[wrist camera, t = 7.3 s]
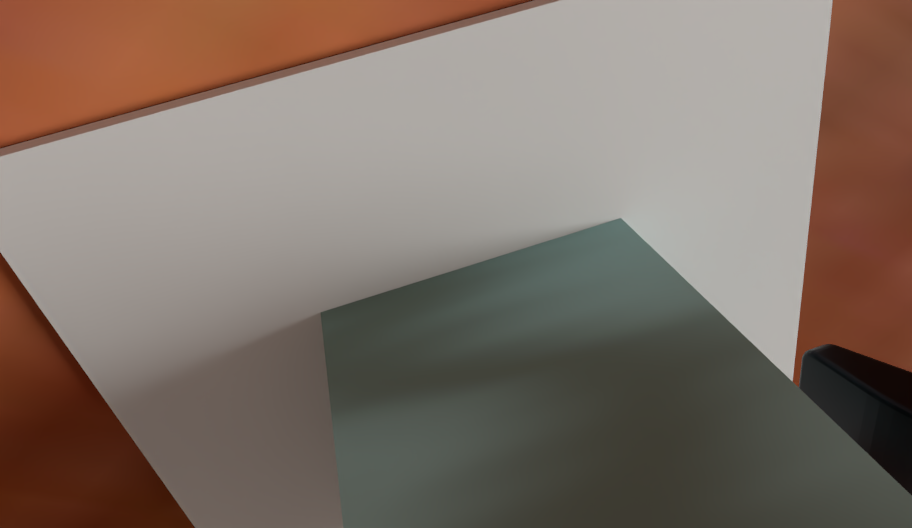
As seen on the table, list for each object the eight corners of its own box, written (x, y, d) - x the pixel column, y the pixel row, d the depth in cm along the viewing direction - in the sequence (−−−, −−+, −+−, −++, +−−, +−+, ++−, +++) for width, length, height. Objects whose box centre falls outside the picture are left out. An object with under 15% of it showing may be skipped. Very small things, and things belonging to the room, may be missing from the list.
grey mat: (288, 642, 14) (289, 661, 14) (-43, 160, 8) (-56, 172, 8) (771, 467, 16) (781, 480, 15) (819, -80, 9) (841, -79, 9)
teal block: (401, 511, 13) (484, 925, 8) (320, 312, 10) (367, 750, 5) (637, 428, 13) (863, 768, 8) (620, 218, 10) (947, 528, 5)
